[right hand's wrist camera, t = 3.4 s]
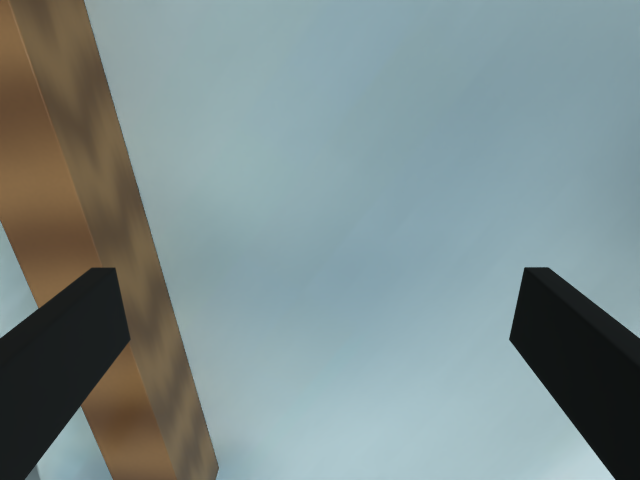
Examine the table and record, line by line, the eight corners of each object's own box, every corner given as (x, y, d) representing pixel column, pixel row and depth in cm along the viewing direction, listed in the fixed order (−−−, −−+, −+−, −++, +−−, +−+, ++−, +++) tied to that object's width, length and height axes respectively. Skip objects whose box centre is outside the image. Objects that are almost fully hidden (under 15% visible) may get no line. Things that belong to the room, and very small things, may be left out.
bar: (-106, -309, 21) (-317, -505, 14) (-11, -327, 20) (-179, -535, 14) (170, 471, 42) (141, 545, 35) (219, 467, 41) (198, 541, 35)
